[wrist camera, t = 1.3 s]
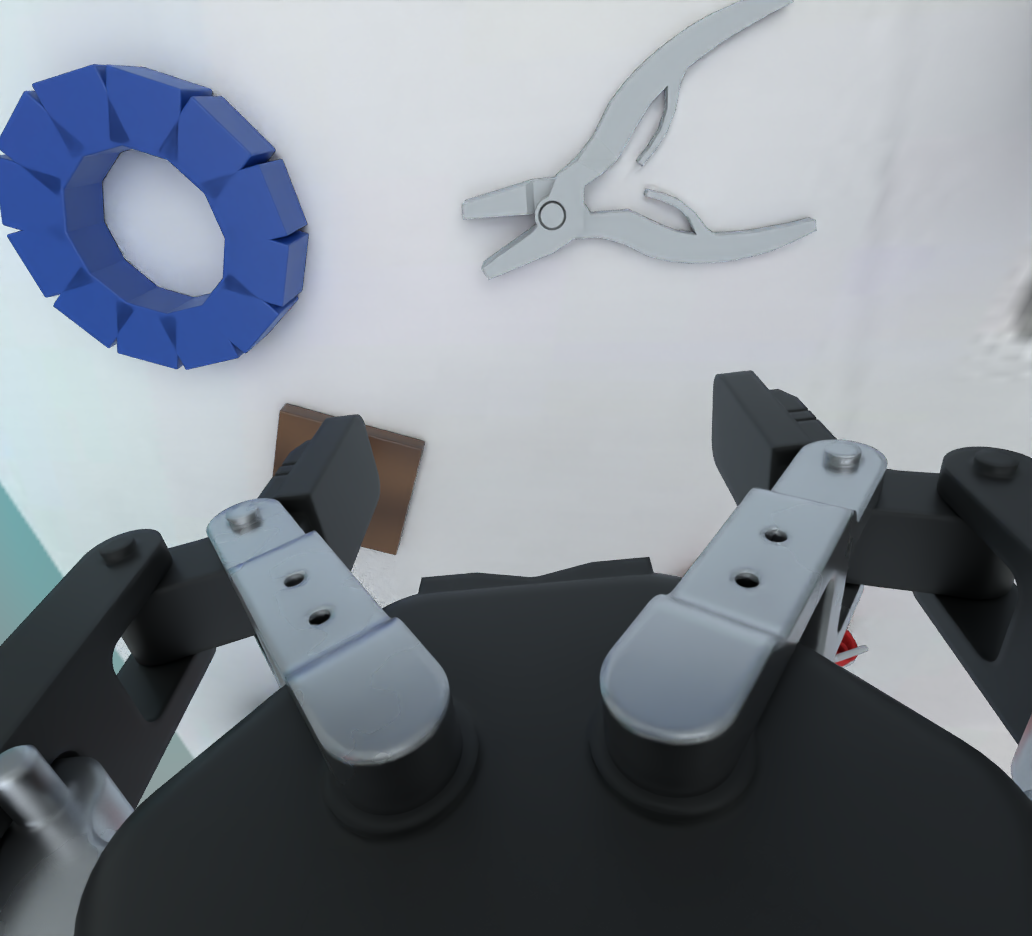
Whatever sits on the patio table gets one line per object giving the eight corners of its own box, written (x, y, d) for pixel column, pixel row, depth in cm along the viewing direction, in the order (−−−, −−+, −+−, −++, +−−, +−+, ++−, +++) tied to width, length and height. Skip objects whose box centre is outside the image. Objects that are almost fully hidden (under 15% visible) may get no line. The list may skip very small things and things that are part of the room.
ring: (27, 28, 26) (-26, 21, 23) (322, 125, 27) (300, 128, 25) (54, 308, 32) (14, 325, 30) (292, 374, 34) (273, 396, 31)
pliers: (824, 239, 28) (508, 343, 31) (811, 232, 29) (510, 332, 32) (799, -24, 23) (429, 128, 26) (784, -18, 24) (434, 127, 27)
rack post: (285, 402, 34) (183, 525, 25) (425, 440, 35) (381, 573, 26) (273, 514, 38) (181, 658, 29) (398, 545, 39) (352, 695, 30)
